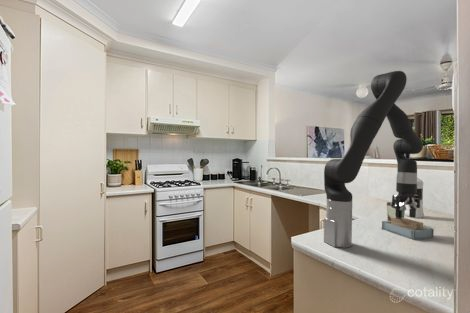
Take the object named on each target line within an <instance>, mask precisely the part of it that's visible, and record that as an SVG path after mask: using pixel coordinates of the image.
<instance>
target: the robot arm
mask: <svg viewBox="0 0 470 313" xmlns="http://www.w3.org/2000/svg"><path fill="white" fill-rule="evenodd" d="M407 79H408V78H407V75H406V73H405V72H404V71H402V70H393V71H389V72H386V73H382V74H377V75H376V76H374V77H373V79H371V82H370V89H371V92H372V94H373V96H374V98H375V101H373V102H372V103H371V104H370V105H368V106H367V107H366V108H365V109H363V110H362V111H361V112H360V113H359V114H358V116H357V117H356V119H355V120H354V122H353V125H352V126H351V128H350V133H349V134H350V144H349V147H348V149H347V151H346V153H345V154H344V156H343V157H342V158H332V159H330V160H328V161H327V162H326V163H325V166H324V169H323V170H324V171H323V180H324V181H323V182H324V191H325V195H326V205H325V206H326V207H325V208H326V212H325V214H326V215H325V216H326V217H323V242H325V243H326V244H328V245H330V246H332V247H333V248H344V249H345V248H346V249H347V248H351V247H352V243H353V234H352V232H353V193H351V191H349V189H348V188H347V187H346V184H349V183H351V182H354V181H355V179H356V178H357V176H358V174H359V172H360V169H361V167H362V165H363V162H364V160H365V157H366V155H367V152H368V151H369V149H370V148H371V145H372V143H373V141H374V139H375V138H376V136H377V134H378V132H379V131H380V129H381V128H382V125H383V123H384V121H385V120H386V119H387V121H388V123H389V125H390V128H391V131H392V135H393V137H394V138H396V139H397V140H395V141H394V143H393V151H394V154H395V158H396V162H397V169H396V170H397V171H396V172H397V173H396V180H395V181H396V189H395V190H396V192H397V193H398V194H392V197H391V202H392V208H395V209H396V214H395V215H396V218H402V208H403V207H404V206H405V205H409V207H410V208H411V209H410V214H409V216H410V217H409V218H414V219H416V218H415V217H416V209H417V208H420V195H415V193H417V178H418V163H417V160H415V159H411V158H407V157H406V155H417V154H420V153H421V152H423V148H424V144H423V141H422V139H420V137H419V136H418V135H417V133H416V132H415V131H414V129H413V128H412V124H411V121H410V118H409V117H408V115H407V113H406V112H405V111H404V110H402V109H401V108H400V107H399V106H398V105H397V104H396V102H397V100H399V98H400V96H401V94H402V93H403V92H404V90H405V87H406V86H407V82H408V80H407ZM415 202H416V203H417V205H416V203H415ZM395 203H396V206H395ZM399 206H400V207H399Z"/></svg>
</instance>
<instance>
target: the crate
mask: <svg viewBox="0 0 470 313" xmlns="http://www.w3.org/2000/svg"><path fill="white" fill-rule="evenodd" d="M381 229H382V230H383V231H387V232H390V233H391V234H392V233H393V234H396V235H398V236H401V237H404V238H407V239H411V240H413V241H414V240H415V241H416V240H417V241H418V240H424V239H433V238H434V232H435V230H434V228H432V227H427V226H426V227H425V226H423V230H409V229H406V228H402V227H399V226H396V225H393V224H391V221H388V220H382V221H381Z"/></svg>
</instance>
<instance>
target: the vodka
mask: <svg viewBox="0 0 470 313" xmlns="http://www.w3.org/2000/svg"><path fill="white" fill-rule="evenodd" d="M423 190H424V181H423V180H422V179H420V178H419V177H417V193H415V195H420V208H417V209H416V217H415V218H414V219H423V218H424V216H425V213H424V205H423V204H424V200H423V199H424V198H423V197H424V195H423V194H424V191H423ZM415 203H416V202H415ZM416 205H417V203H416ZM405 207H406V210H405V214H404V216H406V217H409V218H411V217H410V216H409V214H410V209H411V208H410V207H409V205H405Z"/></svg>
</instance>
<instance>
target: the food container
mask: <svg viewBox="0 0 470 313" xmlns="http://www.w3.org/2000/svg"><path fill="white" fill-rule="evenodd" d="M395 206H396V203H395ZM399 207H400V206H399ZM405 210H406V207H405V206H404V207H403V208H402V218H405ZM386 212H387V213H386V215H387V221H391V218H396V215H395V214H396V209H395V208H392V201H391V202H390V201H387V202H386Z"/></svg>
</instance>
